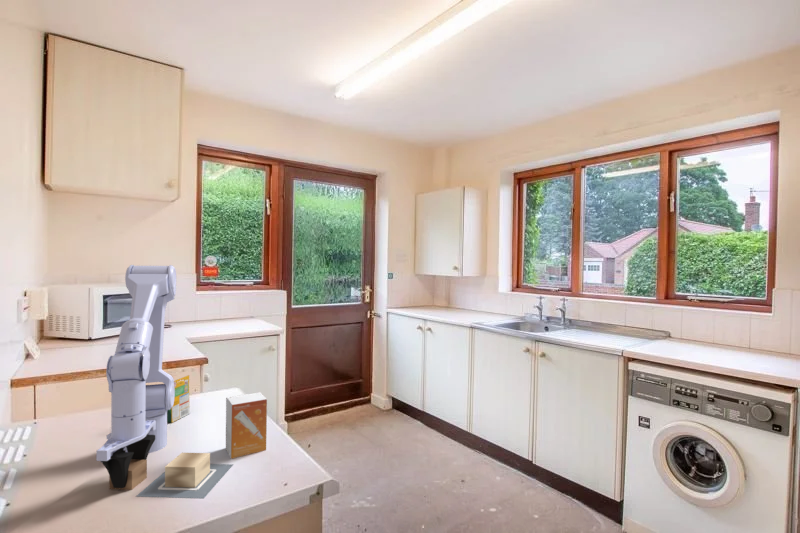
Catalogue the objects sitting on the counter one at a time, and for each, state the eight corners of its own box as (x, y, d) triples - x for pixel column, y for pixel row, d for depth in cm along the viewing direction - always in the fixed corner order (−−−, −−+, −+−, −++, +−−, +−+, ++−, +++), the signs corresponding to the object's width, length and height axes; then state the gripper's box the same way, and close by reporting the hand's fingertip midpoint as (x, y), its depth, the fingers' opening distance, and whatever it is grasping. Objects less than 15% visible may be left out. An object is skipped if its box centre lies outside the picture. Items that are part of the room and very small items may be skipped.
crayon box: (181, 413, 123) (181, 374, 123) (190, 414, 123) (190, 374, 123) (162, 422, 116) (162, 381, 116) (171, 423, 115) (171, 381, 115)
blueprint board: (135, 500, 78) (135, 495, 78) (175, 466, 91) (175, 462, 91) (203, 502, 78) (203, 497, 78) (233, 468, 91) (233, 463, 91)
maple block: (165, 486, 82) (165, 466, 82) (181, 471, 88) (181, 452, 88) (195, 487, 82) (195, 467, 82) (209, 472, 88) (210, 453, 88)
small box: (230, 462, 94) (231, 404, 94) (225, 451, 99) (225, 396, 99) (267, 453, 98) (267, 398, 98) (259, 443, 103) (260, 391, 103)
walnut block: (109, 493, 81) (109, 470, 81) (125, 480, 85) (125, 459, 85) (131, 493, 81) (132, 470, 81) (146, 481, 85) (146, 459, 85)
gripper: (133, 399, 90) (133, 461, 90) (80, 426, 76) (79, 500, 76) (165, 400, 90) (165, 462, 90) (118, 427, 76) (117, 501, 76)
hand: (128, 480), depth 83 cm, fingers closed on walnut block, 4 cm apart
